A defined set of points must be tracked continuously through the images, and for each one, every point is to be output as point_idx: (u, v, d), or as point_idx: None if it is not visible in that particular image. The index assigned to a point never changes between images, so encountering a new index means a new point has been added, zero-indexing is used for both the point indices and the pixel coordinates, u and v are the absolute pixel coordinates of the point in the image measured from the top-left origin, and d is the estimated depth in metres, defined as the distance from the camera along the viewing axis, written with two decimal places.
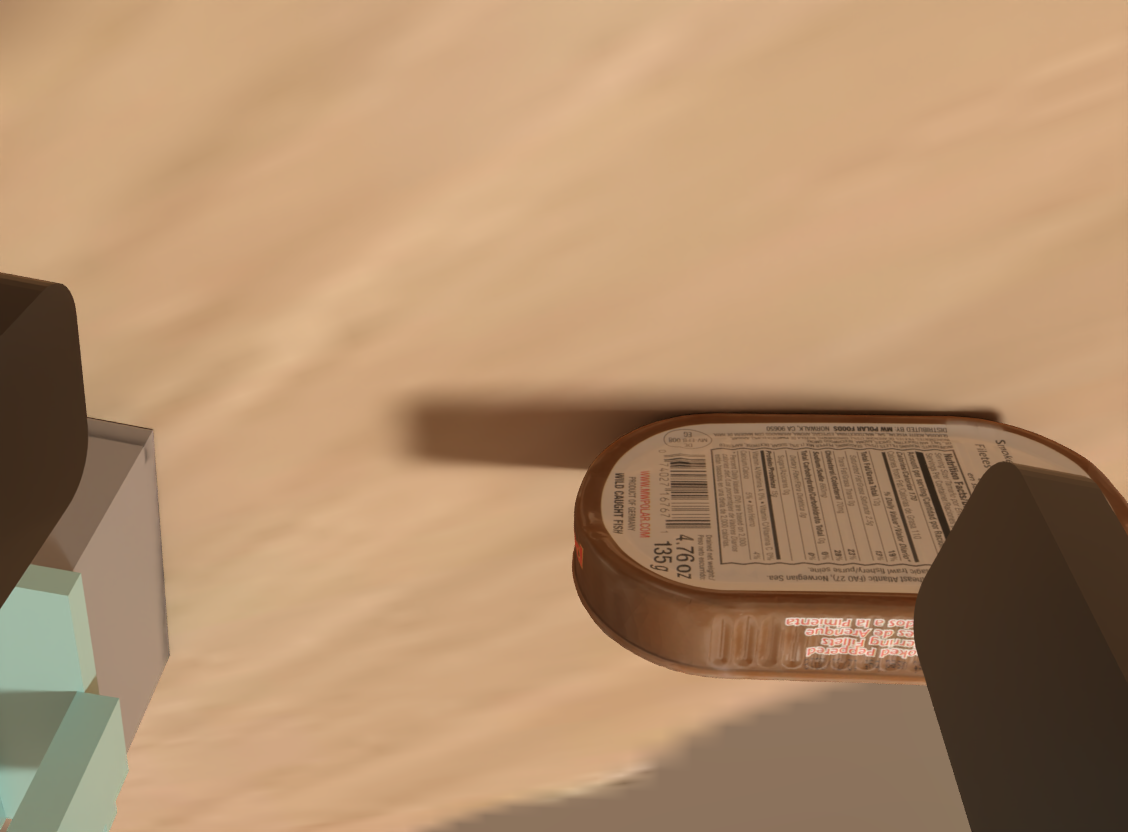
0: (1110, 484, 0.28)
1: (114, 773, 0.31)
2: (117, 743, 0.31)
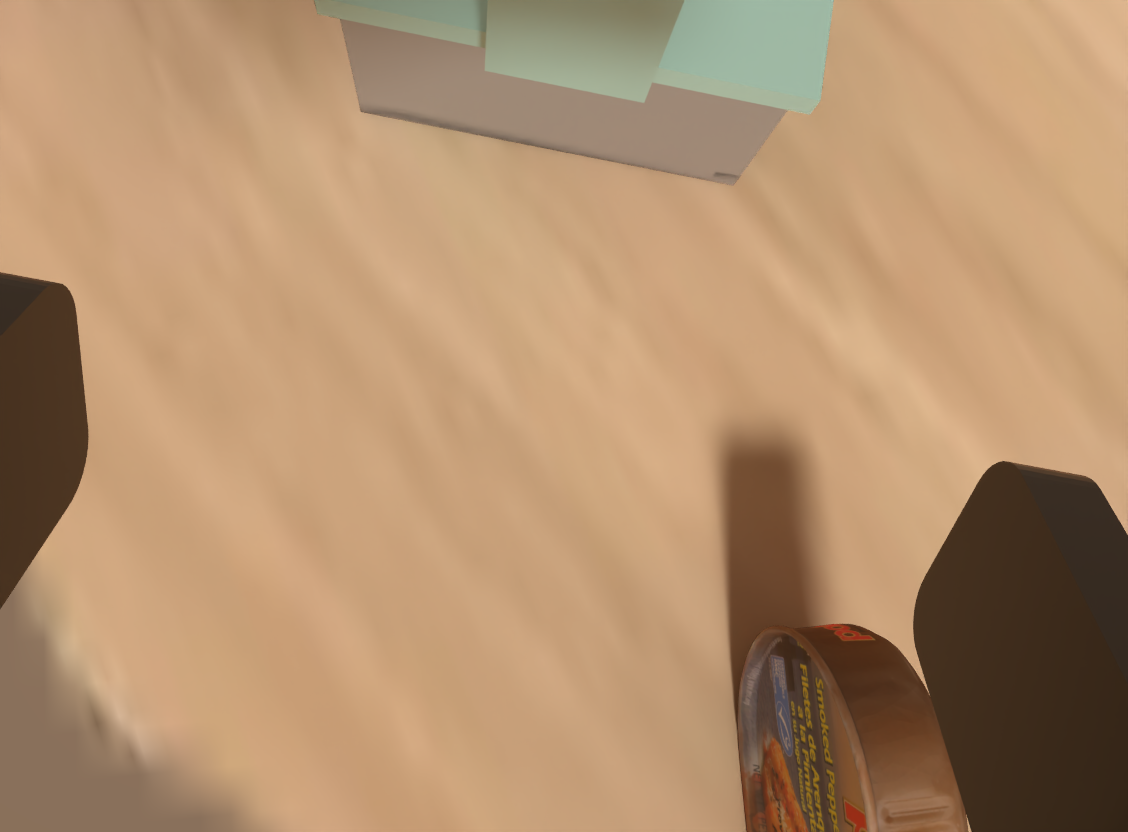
0: None
1: (539, 64, 0.24)
2: (578, 80, 0.25)
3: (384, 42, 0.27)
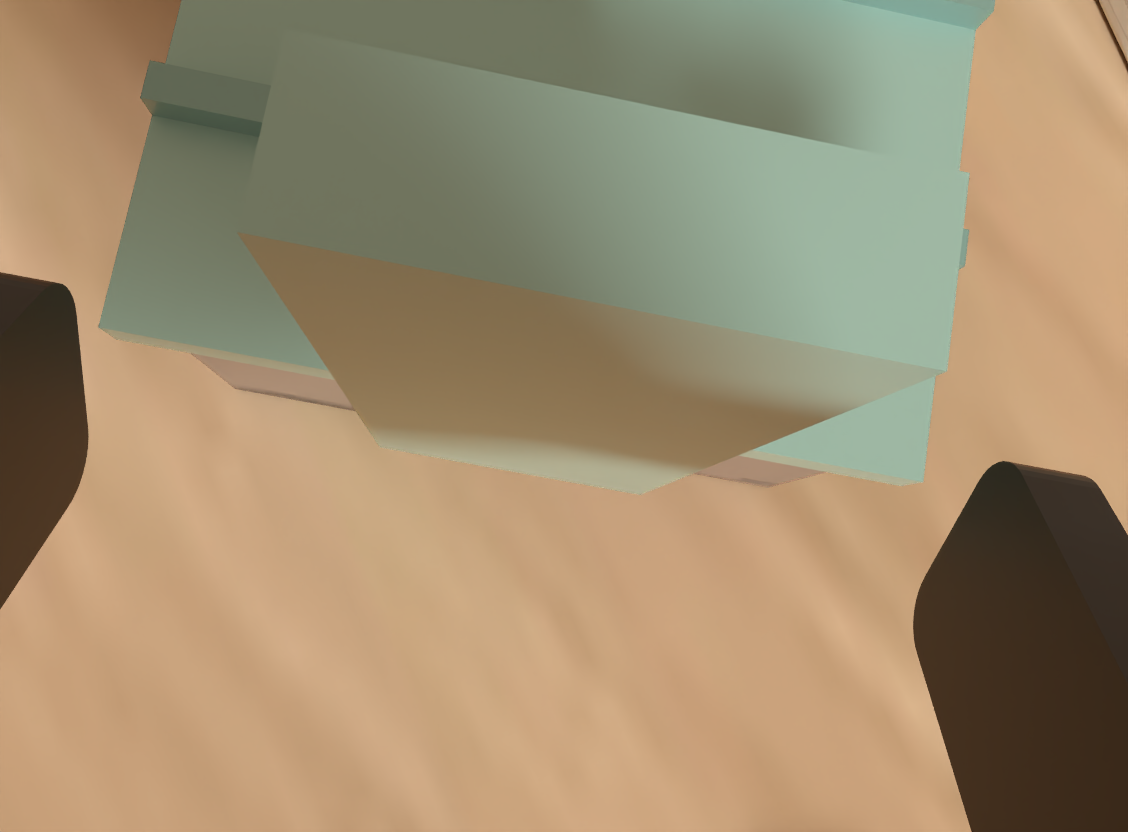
0: None
1: (466, 456, 0.15)
2: (532, 471, 0.15)
3: None
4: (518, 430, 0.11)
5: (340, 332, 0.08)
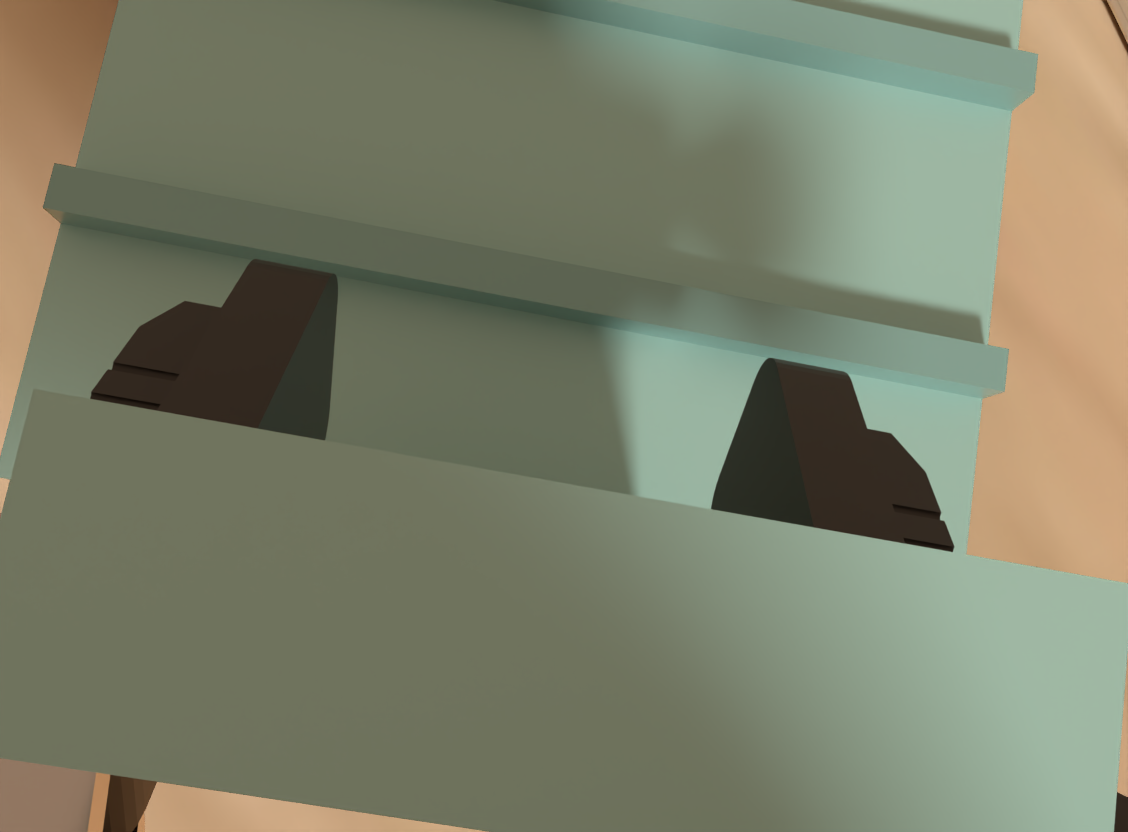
0: None
1: None
2: None
3: None
4: None
5: None
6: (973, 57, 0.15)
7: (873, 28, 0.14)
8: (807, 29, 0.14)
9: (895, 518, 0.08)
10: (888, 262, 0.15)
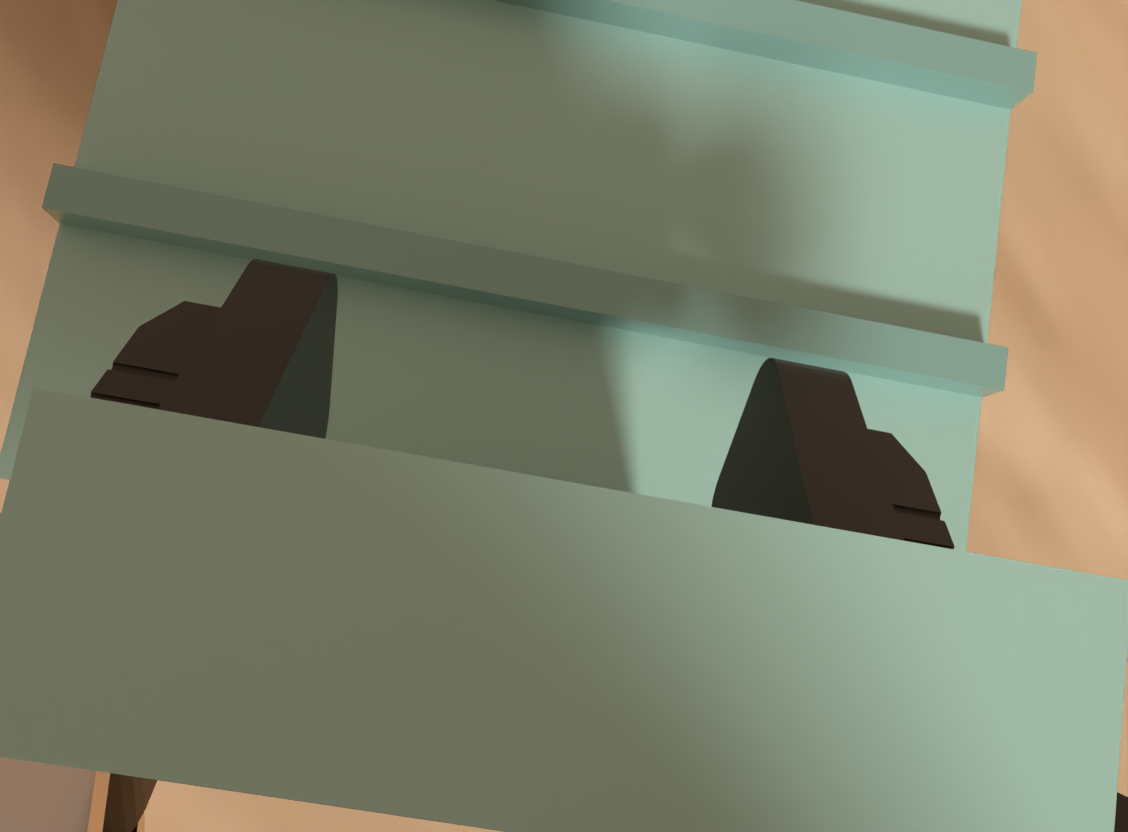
0: None
1: None
2: None
3: None
4: None
5: None
6: (973, 55, 0.15)
7: (872, 27, 0.14)
8: (806, 28, 0.14)
9: (895, 518, 0.08)
10: (887, 261, 0.15)
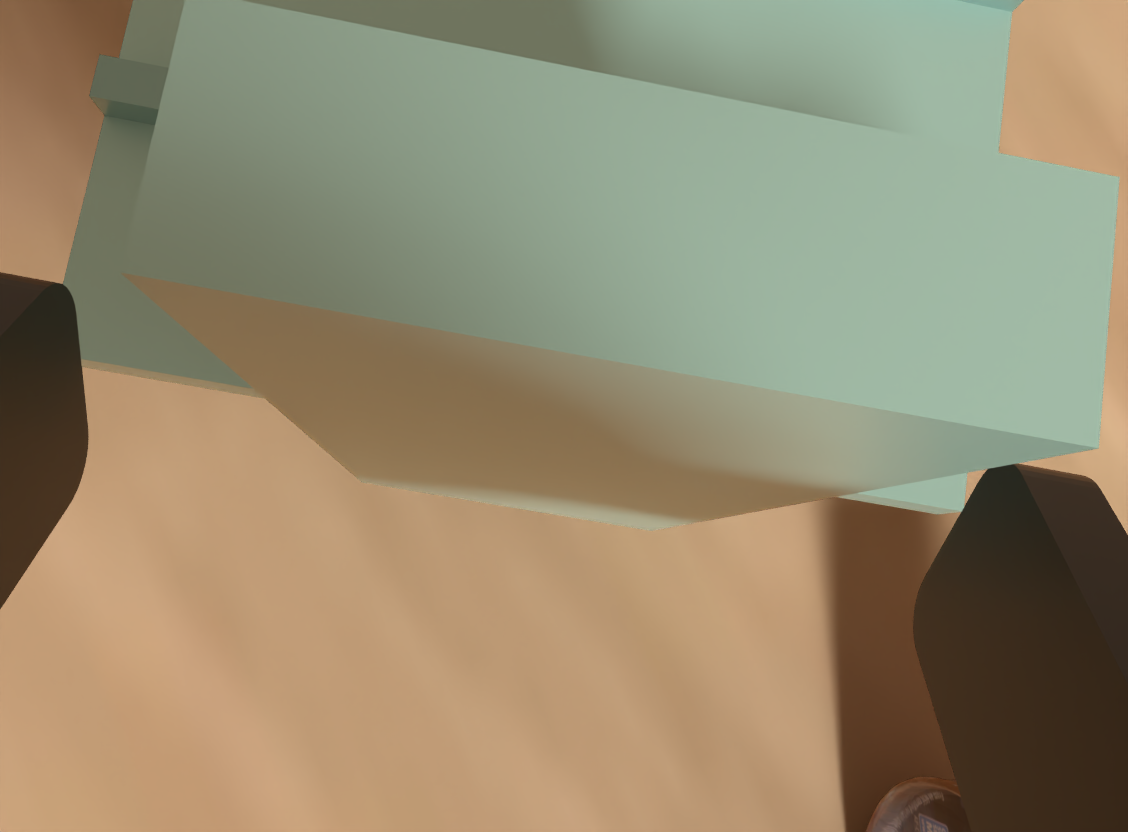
0: None
1: (458, 493, 0.13)
2: (531, 508, 0.14)
3: None
4: (515, 476, 0.10)
5: (290, 383, 0.06)
6: None
7: None
8: None
9: None
10: None
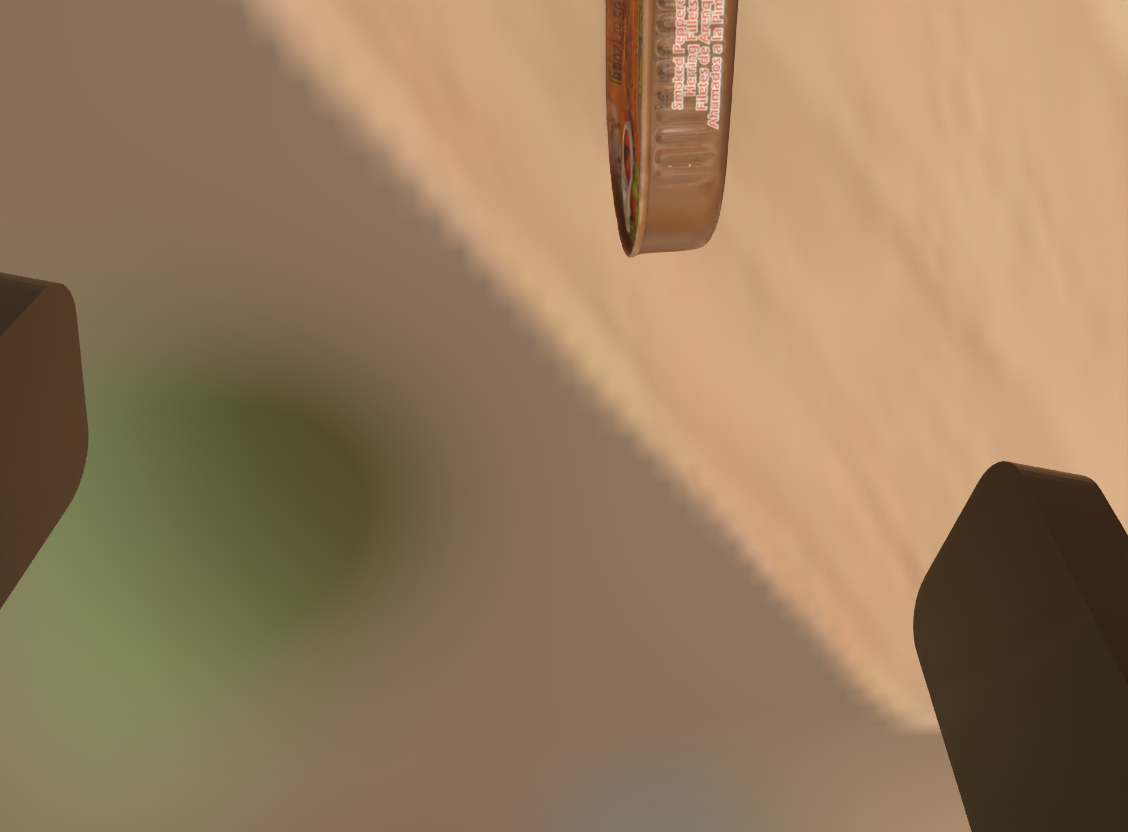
0: None
1: None
2: None
3: None
4: None
5: None
6: None
7: None
8: None
9: None
10: None
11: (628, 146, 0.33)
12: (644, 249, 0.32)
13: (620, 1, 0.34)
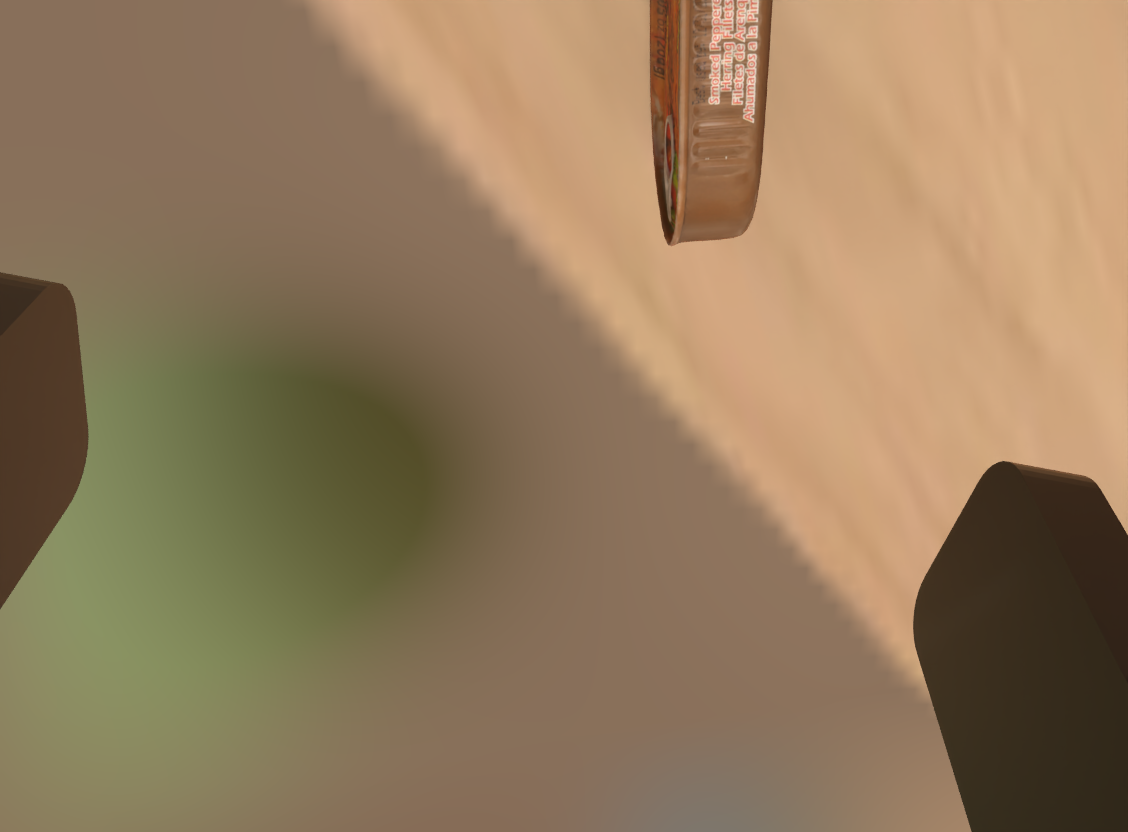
0: None
1: None
2: None
3: None
4: None
5: None
6: None
7: None
8: None
9: None
10: None
11: (670, 139, 0.35)
12: (684, 238, 0.33)
13: None
